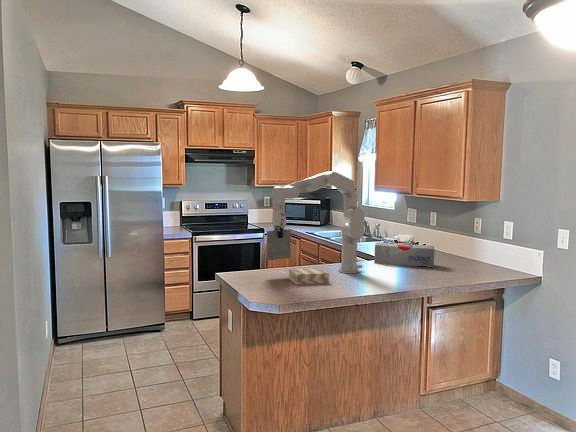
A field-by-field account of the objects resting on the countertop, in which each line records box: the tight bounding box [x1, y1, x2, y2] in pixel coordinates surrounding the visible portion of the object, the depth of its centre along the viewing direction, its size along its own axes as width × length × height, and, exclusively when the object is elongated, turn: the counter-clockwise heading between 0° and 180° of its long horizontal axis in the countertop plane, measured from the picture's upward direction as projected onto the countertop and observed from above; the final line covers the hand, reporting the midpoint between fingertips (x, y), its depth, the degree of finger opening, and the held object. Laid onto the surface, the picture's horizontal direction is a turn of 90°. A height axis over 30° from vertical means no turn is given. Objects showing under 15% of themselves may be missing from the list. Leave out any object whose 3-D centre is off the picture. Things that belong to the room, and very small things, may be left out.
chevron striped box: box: [288, 267, 330, 285], centre depth 278 cm, size 20×14×6 cm
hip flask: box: [266, 226, 292, 261], centre depth 287 cm, size 16×4×20 cm, turn 119°
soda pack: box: [373, 242, 435, 268], centre depth 333 cm, size 41×13×14 cm, turn 74°
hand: (278, 237), depth 286 cm, fingers closed on hip flask, 3 cm apart
